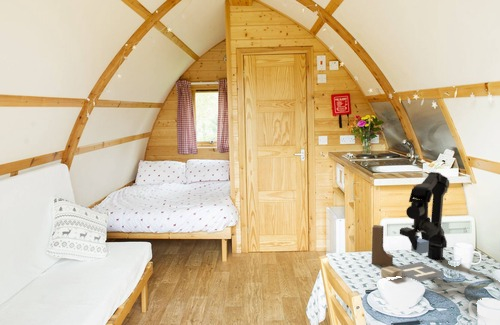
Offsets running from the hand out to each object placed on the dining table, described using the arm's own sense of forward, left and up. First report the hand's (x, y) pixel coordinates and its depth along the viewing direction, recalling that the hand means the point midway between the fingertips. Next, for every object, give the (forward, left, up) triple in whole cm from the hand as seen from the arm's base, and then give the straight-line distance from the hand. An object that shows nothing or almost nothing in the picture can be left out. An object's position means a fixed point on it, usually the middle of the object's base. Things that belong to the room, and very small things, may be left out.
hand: (419, 249), depth 194 cm
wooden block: (+8, -15, -11) cm, 20 cm away
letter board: (0, 0, -10) cm, 11 cm away
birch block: (+16, 0, -11) cm, 19 cm away
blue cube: (0, 0, -1) cm, 1 cm away
